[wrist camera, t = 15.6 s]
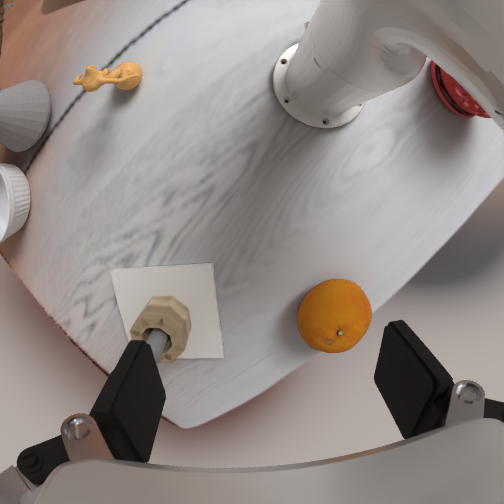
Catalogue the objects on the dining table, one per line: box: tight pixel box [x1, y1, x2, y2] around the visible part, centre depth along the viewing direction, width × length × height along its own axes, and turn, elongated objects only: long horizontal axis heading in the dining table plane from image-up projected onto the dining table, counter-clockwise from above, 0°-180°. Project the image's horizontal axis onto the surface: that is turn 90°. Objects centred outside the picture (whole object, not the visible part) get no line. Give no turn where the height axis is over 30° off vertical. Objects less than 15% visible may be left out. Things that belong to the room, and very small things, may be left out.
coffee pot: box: [0, 4, 52, 152], centre depth 23 cm, size 21×12×15 cm, turn 171°
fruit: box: [298, 279, 372, 353], centre depth 38 cm, size 10×10×8 cm
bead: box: [130, 296, 192, 362], centre depth 37 cm, size 7×7×6 cm
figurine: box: [73, 62, 142, 92], centre depth 26 cm, size 8×6×12 cm
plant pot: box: [431, 61, 491, 118], centre depth 25 cm, size 13×13×12 cm
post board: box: [110, 263, 224, 362], centre depth 36 cm, size 15×15×10 cm
